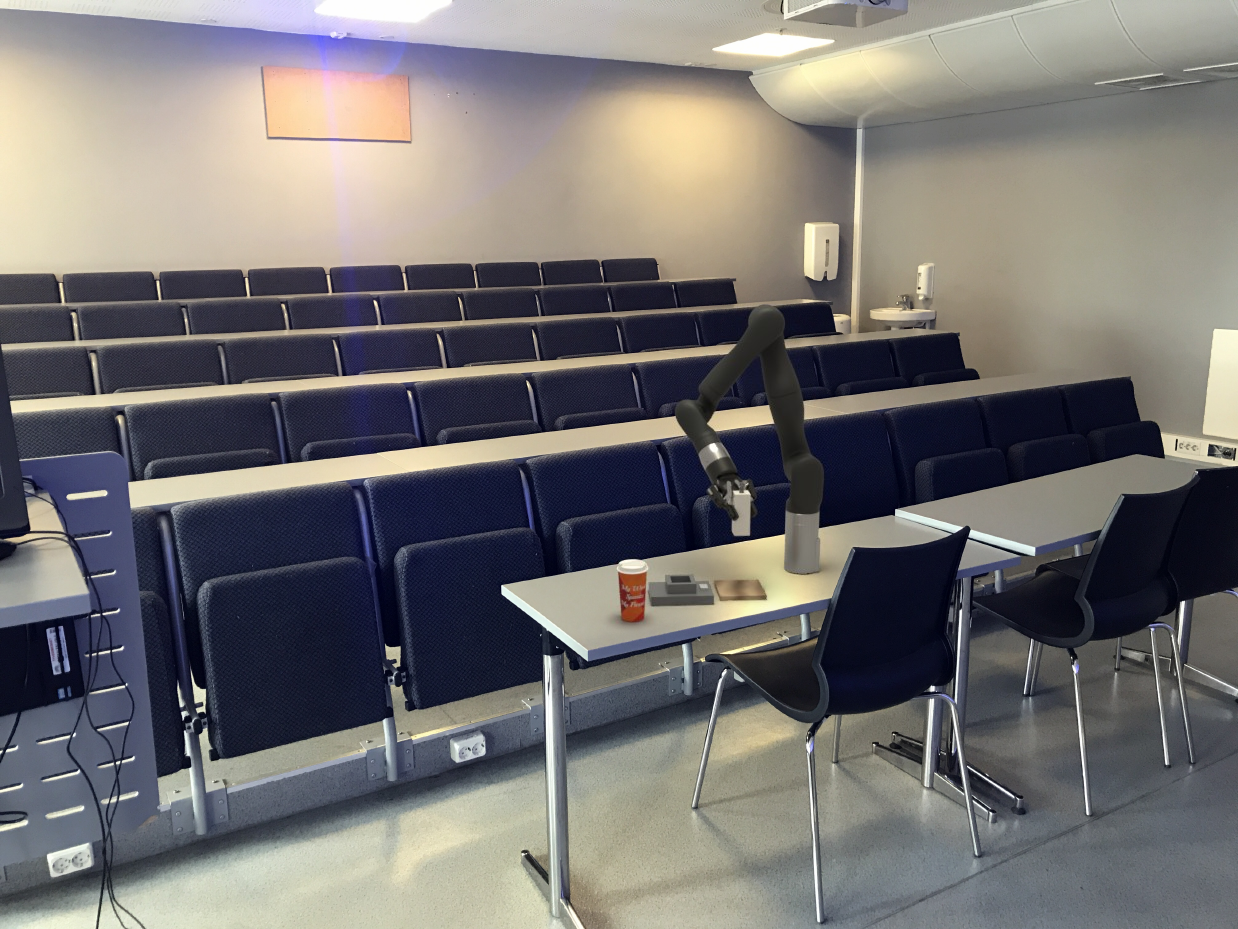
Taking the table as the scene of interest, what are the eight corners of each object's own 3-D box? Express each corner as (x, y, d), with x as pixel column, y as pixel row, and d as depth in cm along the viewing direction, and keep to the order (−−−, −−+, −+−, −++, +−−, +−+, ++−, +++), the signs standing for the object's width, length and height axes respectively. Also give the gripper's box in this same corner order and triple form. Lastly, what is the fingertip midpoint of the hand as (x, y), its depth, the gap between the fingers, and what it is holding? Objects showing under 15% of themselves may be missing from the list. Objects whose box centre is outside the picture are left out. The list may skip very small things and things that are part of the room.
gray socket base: (708, 589, 248) (708, 571, 247) (713, 604, 237) (714, 586, 236) (648, 590, 248) (648, 572, 246) (651, 606, 237) (651, 587, 236)
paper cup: (620, 625, 225) (619, 570, 222) (614, 613, 232) (613, 560, 229) (652, 622, 226) (651, 567, 223) (645, 610, 234) (644, 557, 231)
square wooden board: (758, 583, 252) (758, 579, 252) (766, 599, 240) (766, 595, 240) (714, 584, 252) (714, 580, 251) (720, 600, 240) (720, 596, 240)
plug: (747, 531, 244) (748, 480, 241) (749, 535, 240) (750, 483, 237) (731, 531, 244) (732, 480, 241) (734, 535, 240) (735, 484, 237)
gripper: (702, 459, 241) (730, 514, 233) (745, 452, 248) (774, 505, 241) (689, 475, 246) (717, 529, 239) (732, 468, 253) (760, 520, 246)
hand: (745, 517), depth 240 cm, fingers closed on plug, 5 cm apart
